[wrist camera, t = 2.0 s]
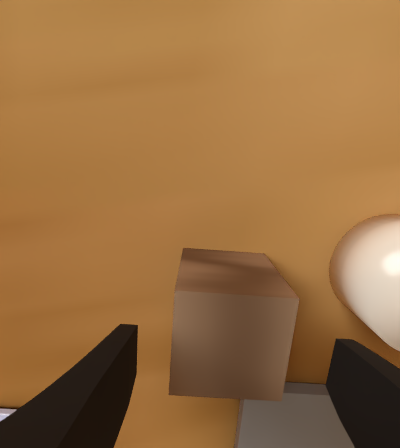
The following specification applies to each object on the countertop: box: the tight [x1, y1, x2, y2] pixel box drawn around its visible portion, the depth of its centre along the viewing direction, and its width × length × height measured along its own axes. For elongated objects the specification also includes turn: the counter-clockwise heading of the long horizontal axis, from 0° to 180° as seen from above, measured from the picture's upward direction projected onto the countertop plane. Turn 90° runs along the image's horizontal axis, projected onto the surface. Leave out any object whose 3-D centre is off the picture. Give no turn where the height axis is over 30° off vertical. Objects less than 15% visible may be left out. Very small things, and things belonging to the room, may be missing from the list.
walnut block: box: [169, 248, 299, 401], centre depth 12 cm, size 4×4×5 cm
